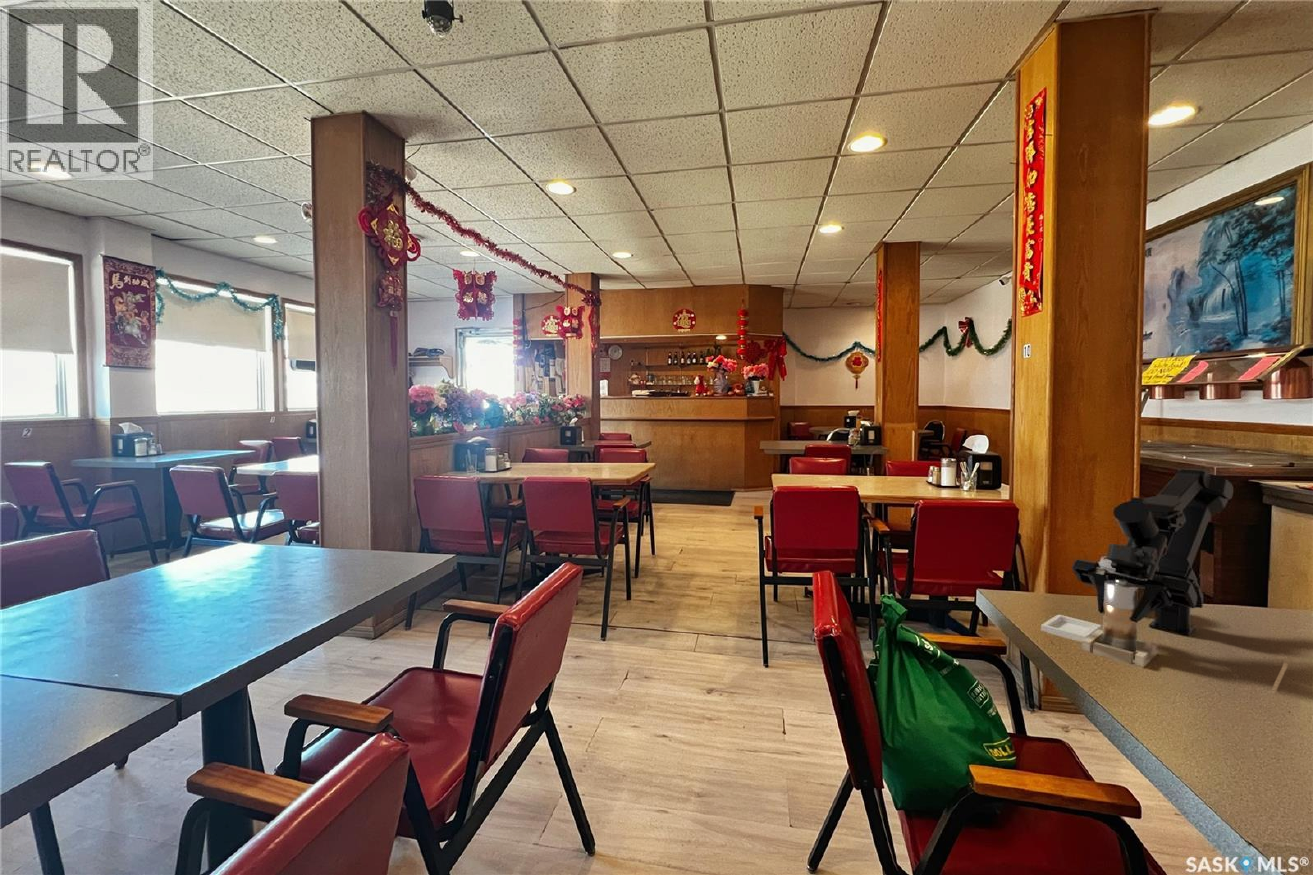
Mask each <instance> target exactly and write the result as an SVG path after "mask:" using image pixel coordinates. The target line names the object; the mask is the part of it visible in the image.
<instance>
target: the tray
mask: <svg viewBox="0 0 1313 875" xmlns="http://www.w3.org/2000/svg"><path fill="white" fill-rule="evenodd" d="M1098 629H1099V630H1103V624H1098V623H1095V622H1091V621H1087V620H1082V619H1078V618H1075V617H1070V616H1067V615H1063V614H1057V615H1055V616H1053V617H1051V618H1050V619H1048V620H1047V621H1045V622H1044V623H1042V624H1041V625H1040V631H1041V632H1044V633H1047V634H1051V635H1054V636H1058V637H1060V638H1065V639H1068V640H1073V641H1075V642H1080V643H1082V641H1083V640H1084V639H1085V638H1087V637H1088V636H1090V635H1091V634H1092V633H1094V632H1095V631H1096V630H1098Z"/></svg>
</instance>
